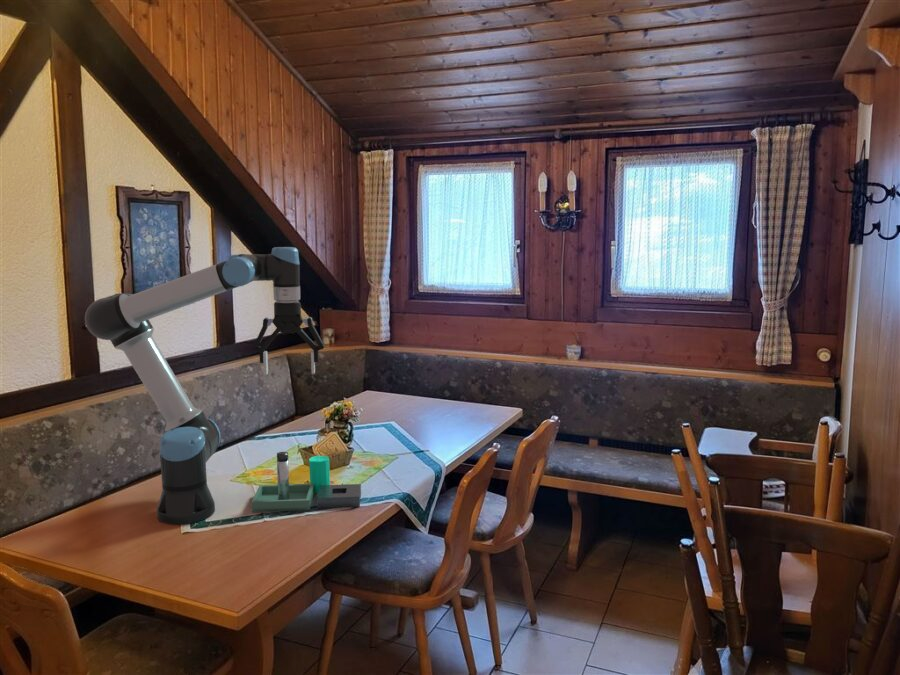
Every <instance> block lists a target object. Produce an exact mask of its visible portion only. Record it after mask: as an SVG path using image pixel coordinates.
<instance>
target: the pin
mask: <svg viewBox="0 0 900 675" xmlns="http://www.w3.org/2000/svg"><path fill="white" fill-rule="evenodd" d="M276 473H277V474H276V475H277V478H276V479H277V485H278V500H289V484H290V474H289V452H287V451H279V452H276Z"/></svg>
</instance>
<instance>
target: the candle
mask: <svg viewBox="0 0 900 675" xmlns="http://www.w3.org/2000/svg"><path fill="white" fill-rule="evenodd" d="M308 464H309V467H308V468H309V484H314V493H315V494H316V495H318V492H319V488H320V485H331V475H330V474H331V473H330V458H329V456H326V455H319V454H318V455H313V456H312V457H310V458H309V459H308ZM315 494H314V495H315Z"/></svg>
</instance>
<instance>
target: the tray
mask: <svg viewBox="0 0 900 675" xmlns="http://www.w3.org/2000/svg"><path fill="white" fill-rule="evenodd" d="M314 495H315V494H314V484H310V483H294V484H293V483H292V484H290V483H289V500H278V484H263V485H262V484H261V485H259V486H258V487H257V490H256V491H255V494H254V496H253V498H252V500H251V513H269V512H298V511H299V512H301V511H302V512H303V511H310V510H311V506H312V503H313V499H314V497H315V496H314Z"/></svg>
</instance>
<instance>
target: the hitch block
mask: <svg viewBox="0 0 900 675" xmlns="http://www.w3.org/2000/svg"><path fill="white" fill-rule="evenodd" d="M361 497H362V484H361V483H355V484H354V483H353V484H350V483H349V484H330V485H320V488H319V492H318V494H317V497H316V503H317V504H316V507H317V509H326V508H331V509H332V508H355V507H356V508H359V507H361Z"/></svg>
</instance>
